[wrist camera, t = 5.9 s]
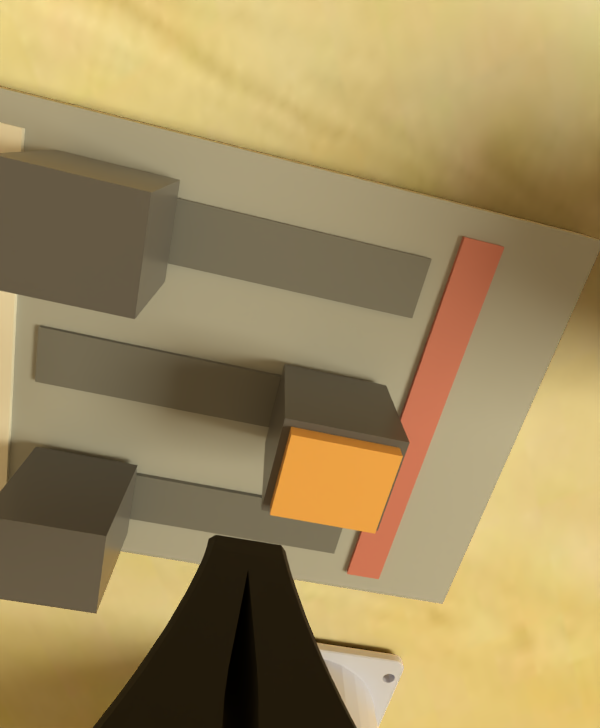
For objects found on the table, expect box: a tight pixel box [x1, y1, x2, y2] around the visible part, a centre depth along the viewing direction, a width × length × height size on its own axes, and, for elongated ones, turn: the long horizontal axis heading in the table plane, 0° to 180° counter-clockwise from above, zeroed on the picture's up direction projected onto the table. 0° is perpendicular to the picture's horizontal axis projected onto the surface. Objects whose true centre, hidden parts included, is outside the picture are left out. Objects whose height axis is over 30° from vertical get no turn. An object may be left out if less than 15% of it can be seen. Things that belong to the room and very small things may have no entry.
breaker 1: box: [0, 150, 180, 319], centre depth 13 cm, size 3×3×3 cm
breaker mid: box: [261, 364, 410, 534], centre depth 15 cm, size 3×3×4 cm
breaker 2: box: [0, 447, 138, 613], centre depth 16 cm, size 3×3×3 cm
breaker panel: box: [0, 86, 600, 604], centre depth 18 cm, size 14×20×1 cm
